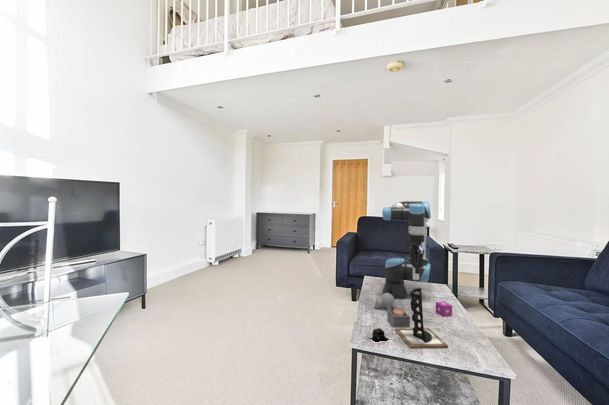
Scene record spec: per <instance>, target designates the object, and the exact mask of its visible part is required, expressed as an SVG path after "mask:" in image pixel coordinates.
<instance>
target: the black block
mask: <svg viewBox="0 0 609 405" xmlns="http://www.w3.org/2000/svg"><path fill="white" fill-rule="evenodd" d="M385 336H386V335H385V331H384V330H383V329H382V328H380V327H379V328H374V329H373V330H372V336H371V337H372V338H370V337H369V338H370V339H372V340H373V341H375V342H379V341H387V340H389V339H390V338H388V337H387V336H386V337H387V338H386V337H385ZM387 342H388V341H387Z"/></svg>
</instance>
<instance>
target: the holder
mask: <svg viewBox="0 0 609 405" xmlns="http://www.w3.org/2000/svg"><path fill="white" fill-rule="evenodd" d="M417 293H418V294H417ZM409 297H411V299H410V309H411V311H412V315H411V321H412V322H413V325H414V326H413V327H412V329H413V336H415V337H417V338H419V339H421V340H423V341H424V342H425V343H427V342H429V341H430V340H431V339H432V335H431V334H430V333H429V332H427V331H425V330H424V328H425V326H424V312H423V294H422V288H421V287H417V288H413V289H411V290H410V294H409ZM417 309H418V310H417ZM419 324H420V326H419ZM418 331H421V332H422V333H417V332H418ZM425 338H426V339H425Z"/></svg>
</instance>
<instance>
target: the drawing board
mask: <svg viewBox="0 0 609 405" xmlns="http://www.w3.org/2000/svg"><path fill="white" fill-rule="evenodd" d="M424 330H425V331H427V332H429V333H430V334H431V335H432V339H431V340H430V341H429V342H427V343H425V342H424V341H423V340H421V339H419V338H417V337H415V336H413V328H395V332H396V333H397V335H398V336H399V337H400V338H401V340H403V342H404V344H405V345H406V346H407V347H408V348H409V349H448V348H449V345H448V344H447V342H444V341H443V340H442V338H440V337H439V336H438V335H437V334H436V333H435V332H433V330H431V329H430V328H426V327H424ZM417 333H422V332H421V331H418V332H417ZM425 339H426V338H425Z"/></svg>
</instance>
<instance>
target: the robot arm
mask: <svg viewBox="0 0 609 405" xmlns="http://www.w3.org/2000/svg"><path fill="white" fill-rule="evenodd" d="M430 207H431V206H430V203H429V202H428V201H421V200H420V201H419V200H418V201H416V200H415V201H412V200H411V201H408V200H405V201H399V202H396V203H394V204H392V205H391V206H385V207H382V213H381V214H382V216H381V217H382V219H383V220H384V221H400V222H401V221H403V222H404V221H405V222H408V228H407V230H408V233H409V234H408V242H409V243H410V245H408V249H409V250H408V251H409V258H408V260H407V261H406V260H405V258H402V257H395V258H394V257H392V258H389V259H386V260H385V266H384V268H385V273H384V274H385V277H384V280H385V281H384V283H383V284H384V285H383V288H382V292H381V294H382V295H383V294H384V293H390V294H391V295H393V297H394V300H396V299H398V300H399V299H406V298H407V297H408V291H407V288H406V286H405V281H409V282H410V281H411V282H418V283H428V282H429V277H430V271H431V263H429V260H428V259H427V258H426V256H427V254H426V251H427V250H426V245H427V244H426V242H427V236H426V235H427V234H426V232H427V231H426V230H427V223H428V222H429V220H430V219H431V215H432V214H431V208H430Z"/></svg>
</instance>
